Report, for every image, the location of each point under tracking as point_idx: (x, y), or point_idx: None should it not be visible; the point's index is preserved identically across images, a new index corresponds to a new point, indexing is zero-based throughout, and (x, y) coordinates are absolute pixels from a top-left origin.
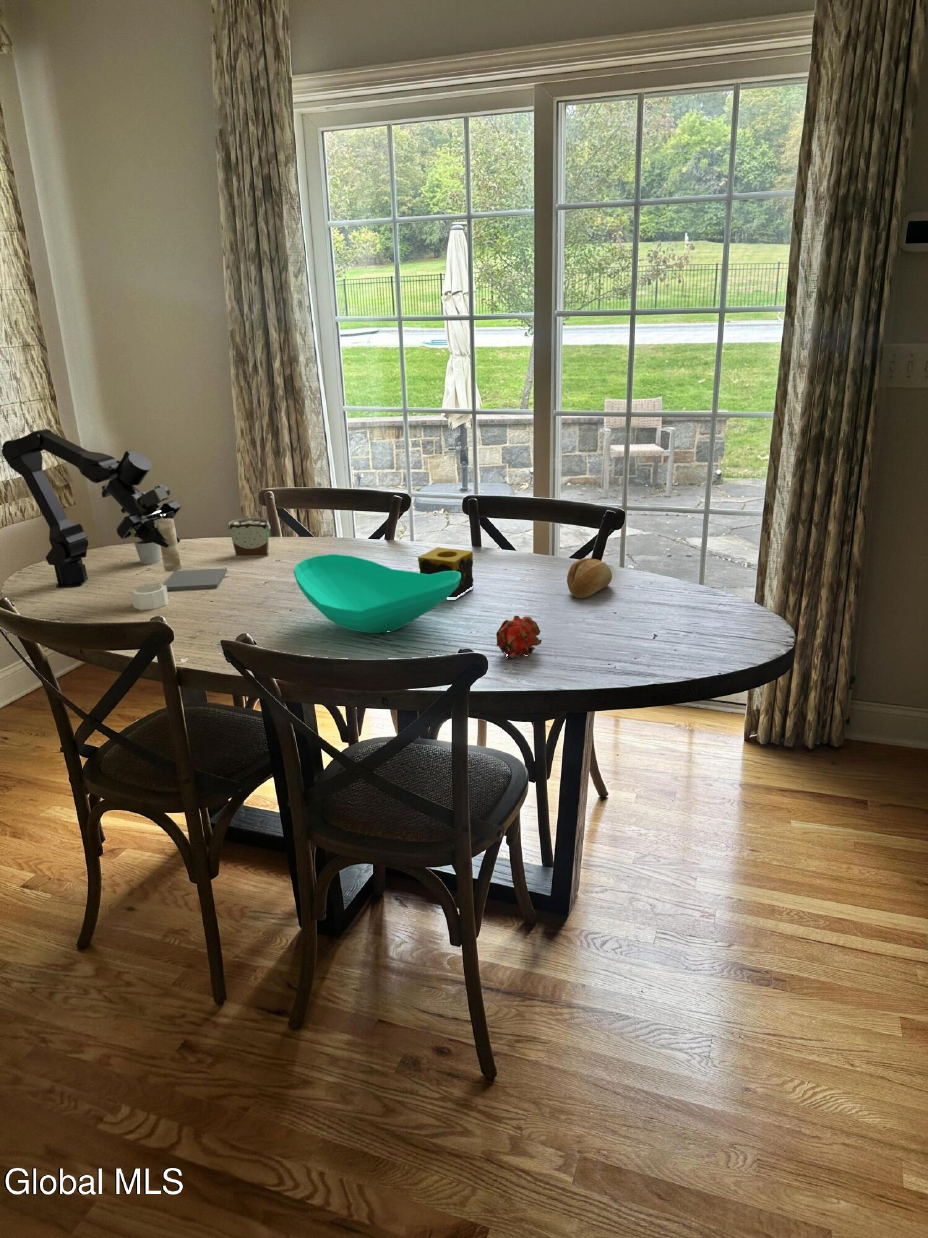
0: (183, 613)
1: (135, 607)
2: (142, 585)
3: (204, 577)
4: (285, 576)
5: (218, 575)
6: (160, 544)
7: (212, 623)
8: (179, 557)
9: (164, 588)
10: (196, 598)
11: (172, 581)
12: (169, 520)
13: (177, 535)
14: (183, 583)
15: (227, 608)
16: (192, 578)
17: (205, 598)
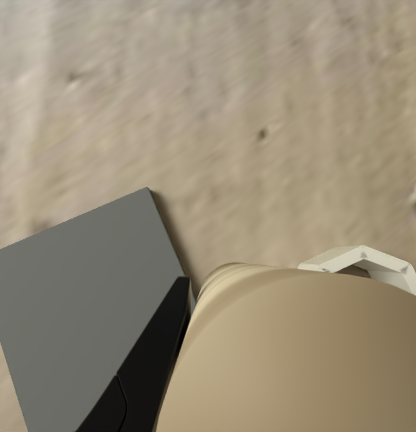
0: (373, 151)
1: None
2: None
3: (88, 274)
4: (8, 54)
5: (59, 238)
6: None
7: (408, 34)
8: (219, 268)
9: (343, 253)
10: (252, 194)
11: None
12: (320, 355)
13: (171, 304)
14: None
15: (299, 60)
16: (106, 311)
17: (244, 167)
